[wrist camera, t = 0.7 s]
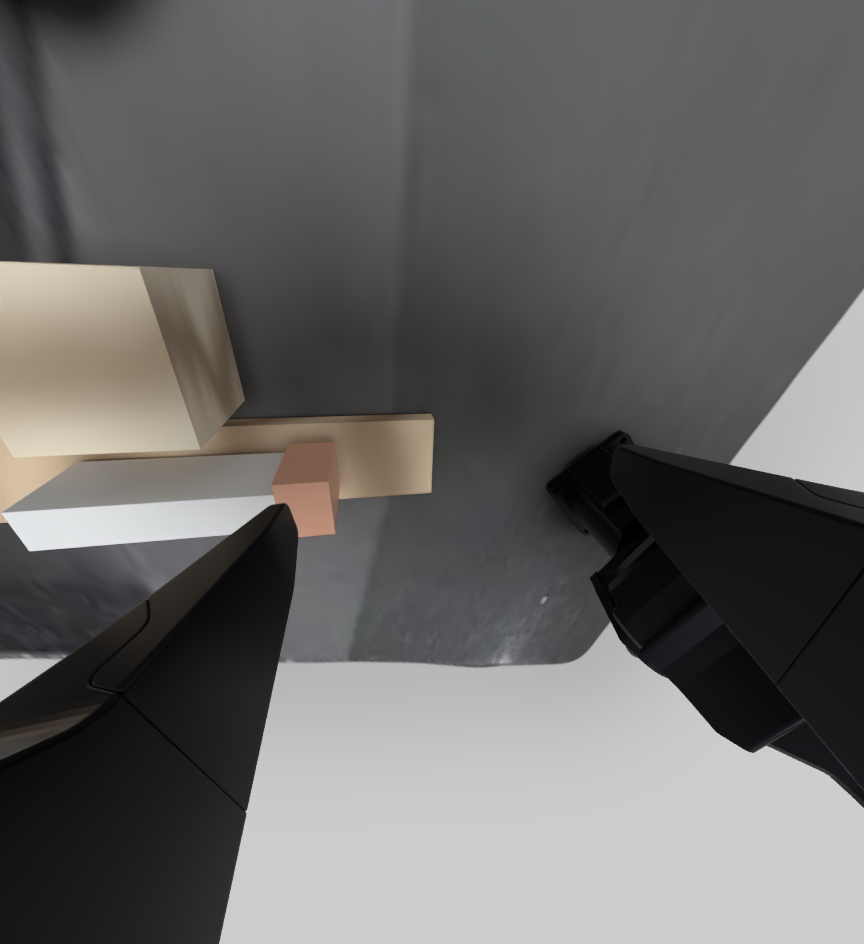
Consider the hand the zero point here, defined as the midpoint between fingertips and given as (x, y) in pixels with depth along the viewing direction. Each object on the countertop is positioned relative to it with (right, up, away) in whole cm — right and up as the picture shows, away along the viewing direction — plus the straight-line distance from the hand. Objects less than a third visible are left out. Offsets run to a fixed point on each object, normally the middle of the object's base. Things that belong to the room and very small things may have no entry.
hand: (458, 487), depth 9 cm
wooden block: (-13, +7, +7) cm, 17 cm away
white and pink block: (-12, 0, +9) cm, 15 cm away
